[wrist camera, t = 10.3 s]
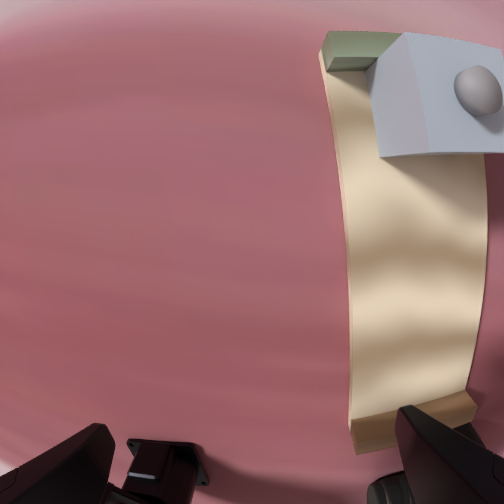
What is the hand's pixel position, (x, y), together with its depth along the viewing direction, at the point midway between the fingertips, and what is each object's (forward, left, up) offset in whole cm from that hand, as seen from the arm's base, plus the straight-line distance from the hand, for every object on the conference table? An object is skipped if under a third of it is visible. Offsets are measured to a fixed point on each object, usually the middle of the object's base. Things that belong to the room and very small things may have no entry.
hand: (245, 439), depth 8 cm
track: (+1, -10, -12) cm, 16 cm away
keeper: (+10, -10, -11) cm, 18 cm away
